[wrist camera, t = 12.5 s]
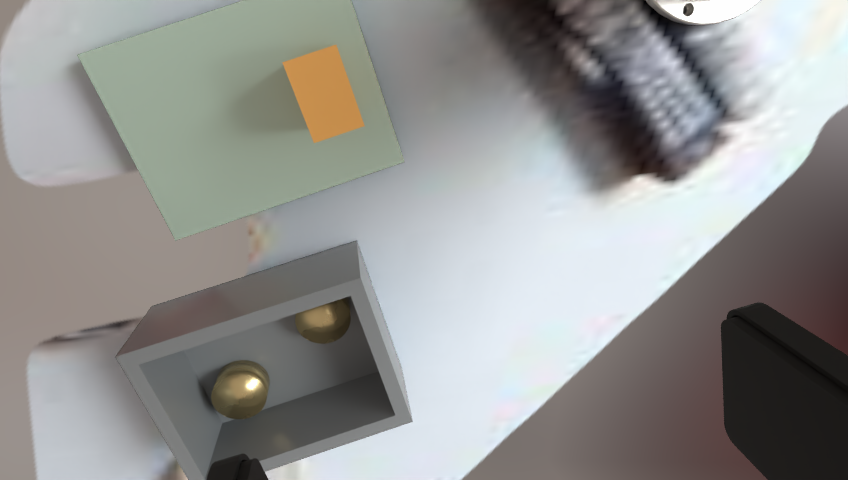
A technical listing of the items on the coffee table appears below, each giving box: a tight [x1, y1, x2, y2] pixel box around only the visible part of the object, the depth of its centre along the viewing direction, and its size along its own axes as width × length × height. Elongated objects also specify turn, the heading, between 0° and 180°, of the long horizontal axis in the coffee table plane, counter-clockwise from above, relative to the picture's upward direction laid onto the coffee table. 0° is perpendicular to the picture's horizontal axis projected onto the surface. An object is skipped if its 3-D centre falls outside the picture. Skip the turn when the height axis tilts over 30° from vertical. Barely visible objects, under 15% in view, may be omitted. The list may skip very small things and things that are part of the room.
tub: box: [116, 241, 413, 480], centre depth 39 cm, size 16×12×7 cm
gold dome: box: [211, 360, 270, 419], centre depth 41 cm, size 4×4×2 cm
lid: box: [77, 0, 404, 241], centre depth 32 cm, size 17×13×8 cm
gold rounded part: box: [295, 297, 351, 344], centre depth 40 cm, size 4×4×2 cm
